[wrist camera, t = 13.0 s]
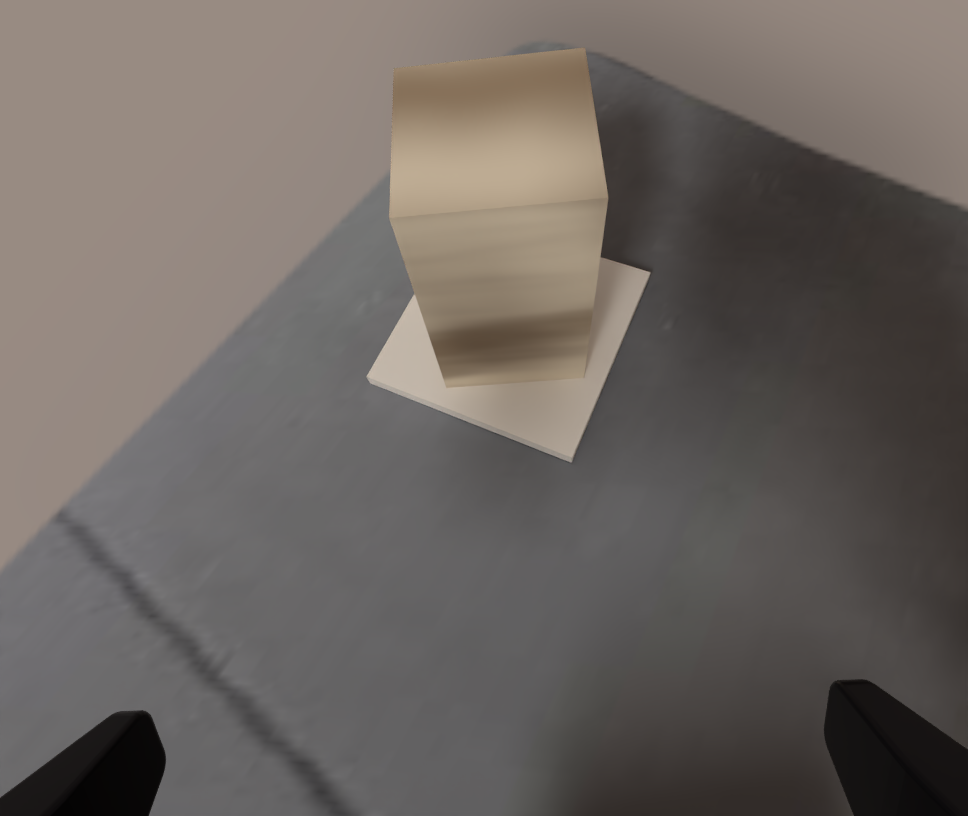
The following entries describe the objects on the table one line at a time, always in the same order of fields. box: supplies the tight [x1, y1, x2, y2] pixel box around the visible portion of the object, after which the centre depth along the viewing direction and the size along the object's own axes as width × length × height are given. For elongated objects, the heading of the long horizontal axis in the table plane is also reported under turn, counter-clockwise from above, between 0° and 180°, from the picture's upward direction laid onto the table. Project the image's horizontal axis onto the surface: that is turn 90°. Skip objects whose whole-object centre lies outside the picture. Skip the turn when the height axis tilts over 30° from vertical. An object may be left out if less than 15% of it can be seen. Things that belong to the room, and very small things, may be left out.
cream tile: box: [367, 257, 651, 463], centre depth 26 cm, size 9×9×1 cm
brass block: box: [389, 48, 608, 388], centre depth 21 cm, size 6×6×10 cm
